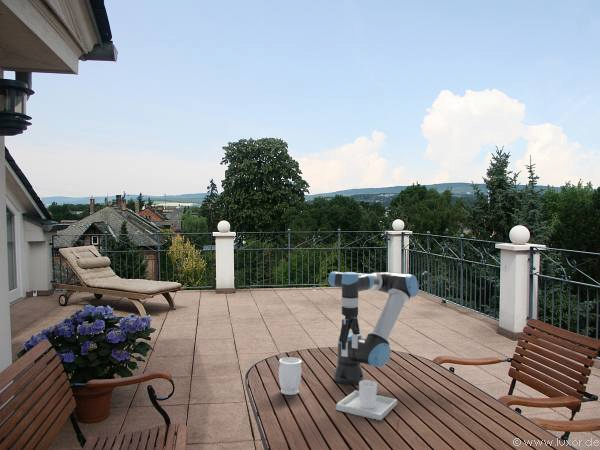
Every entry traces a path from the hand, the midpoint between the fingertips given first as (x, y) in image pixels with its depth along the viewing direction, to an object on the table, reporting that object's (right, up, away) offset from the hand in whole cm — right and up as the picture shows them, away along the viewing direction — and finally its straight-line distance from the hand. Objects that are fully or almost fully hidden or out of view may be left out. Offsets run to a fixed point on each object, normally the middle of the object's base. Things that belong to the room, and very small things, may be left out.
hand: (349, 352), depth 217 cm
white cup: (+7, -20, -12) cm, 24 cm away
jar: (-28, -20, +4) cm, 34 cm away
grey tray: (+6, -21, -12) cm, 25 cm away
